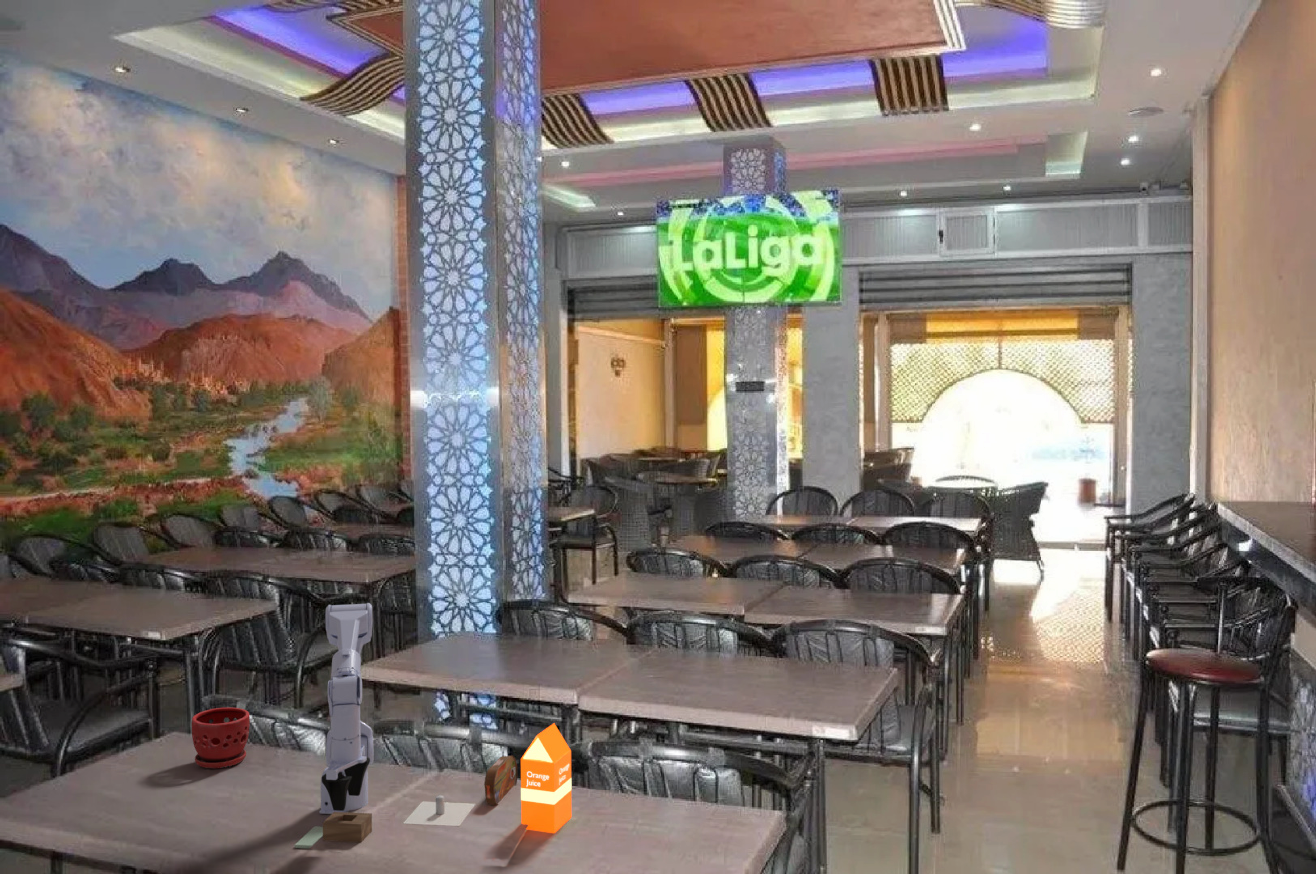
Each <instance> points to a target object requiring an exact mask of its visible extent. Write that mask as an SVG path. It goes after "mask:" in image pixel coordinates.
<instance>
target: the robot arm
mask: <svg viewBox="0 0 1316 874" xmlns="http://www.w3.org/2000/svg"><path fill="white" fill-rule="evenodd" d="M325 631H326V636H327V640H328V644H330V645H333V646H335V647H337V649H338V650H337V652H335V653H334V654H333V656H332V659H331V661H332V662H331V674H330V679H328V682H327V703H328V709H329V716H330V729H329V730H328V732H327V733H326V742H325V743H326V744H325V763H326V764H325V765H326V767H325V768H324V770H323V771H322V774H321V776H320V777H321V778H320V810H319V814H322V815H323V814H324V815H326V814H327V815H331V814H332V813H333V812H349V811H354V810H355V811H356V810H359V809H362V808H364V807H366V806H367V805H368V804H369V782H368V781H369V777H368V775H369V773H368V772H369V771H368V768H369V766H371V765H372V764H373V763H374V756H375V755H374V753H375V752H374V733H373V732H374V731H373V729H372V727H371V726H370V725H368V724H367V723H365V722H364V721H362V720H361V705H362V701H363V679H362V675H361V673H362V672H361V666H362V665H361V663H362V658H361V653H362V649H363V647H364V645H366V644H367V643H370V642H371V639H372V636H373V632H372V631H373V605H372V604H371V603H370V602H367V603H357V604H356V603H353V604H352V603H351V604H335V605H334V604H333V605H332V604H328V605H327V606H326V608H325Z"/></svg>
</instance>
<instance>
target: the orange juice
mask: <svg viewBox="0 0 1316 874" xmlns="http://www.w3.org/2000/svg"><path fill="white" fill-rule="evenodd" d="M572 780H573V779H572V750H571V748H570V747H569V745H568V744H567V742H566V740H565V738H564V736H563V735H562V734H561V732H560V730H559V729H558V727H557V725H556V723H555V722H554V723H552V724H551V725H549V726H548V727H546V728H545V729H544V730H542V731H541V732H539V733H537V735H535V737H534V739H533V740H532V742H531V743H530V745H529V746H528V748H527V749H526V751H525V752H524V754H523V755H522V757H521V758H520V803H521V805H520V806H521V807H520V808H521V809H520V811H521V816H520V817H521V818H520V820H521V821H520V823H521V824H522V825H524V826H525V825H527V826H526V828H525V830H527V831H528V830H529V831H534V832H541V833H548V834H556V833H557V832H558V831H559V830H560V829H561V828H562V827H564V825H566V823H568V821H570V820H571V819H572V817H573V816H572V812H573V811H572V787H573V786H572Z"/></svg>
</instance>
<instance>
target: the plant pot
mask: <svg viewBox="0 0 1316 874" xmlns="http://www.w3.org/2000/svg"><path fill="white" fill-rule="evenodd" d="M226 718H227V719H228V721H227V722H226V721H225V719H226ZM250 718H251V717H250V712H249V711H248V710H246V709H243V708H239V707H218V708H217V707H215V708H211V709H210V708H209V709H207V710H203V711H200V712H199V713H196V714H194V715H193V716H192V718H191V737H192V742H193V747H194V749H195V751H196V753H197V754H196V755H195V757H194V761H195V763H196V764H197V765H198V766H200V767H201V768H204V769H223V768H222V767H225V768H228V767H227V766H229V767H232V765H233V766H235V765H237V763H238V764H239V763H241V762H243V760H244V759H245V758H246V757H247V752H246V750H245V747H246V745H247V742H248V739H249V734H250V727H251V725H250V724H251V723H250ZM235 719H236V720H235ZM211 720H212V722H210V721H211Z"/></svg>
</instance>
